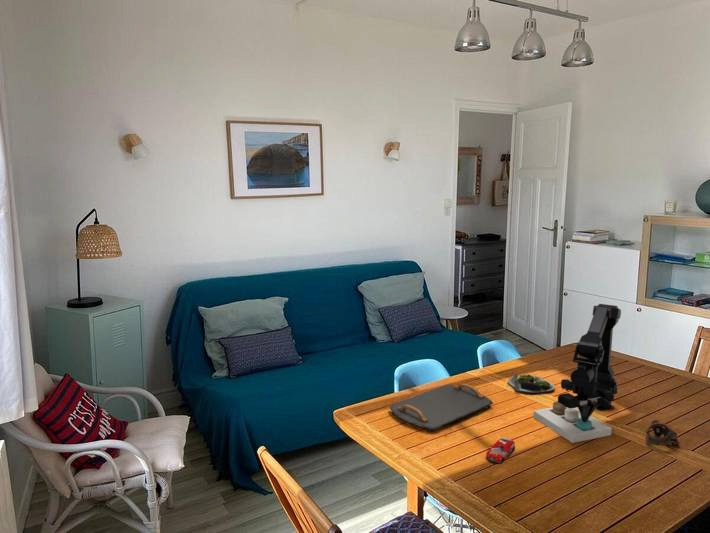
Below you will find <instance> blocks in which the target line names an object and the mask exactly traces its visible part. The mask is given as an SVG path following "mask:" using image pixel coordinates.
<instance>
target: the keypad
mask: <svg viewBox="0 0 710 533" xmlns="http://www.w3.org/2000/svg"><path fill="white" fill-rule="evenodd" d="M571 409H576V410H578V411H579V409H578V407H576V408H571ZM532 418H534V419H535V420H537V421H538V422H540V423H541V424H542V425H544V426H546V427H547V428H549V429H550V430H552V431H553V432H555V433H557V434H558V435H560V436H561V437H562V438H564V439H565V440H568V441H569V442H570V443H572V444H574V443H575V444H576V443H578V442H584V441H588V440H594V439H599V438H603V437H608V436H612V430H613V428H612V427H611V426H609V425H608V424H605V423H604V422H602V421H600V420H599V419H597V418H595V417H593V416H592V415H591V416H590V417H589V419H588V420H590V421H591V422H592V426H591V430H587V431H582V430H580V429H579V428H577V427H576V426H577V422H576V423H570V422H567V421H566V420H564V415H562V416H560V415H556V414H554V413H553V406H551V407H547V408H542V409H536V410H533V415H532ZM580 418H581V415H580V412H579V419H580Z"/></svg>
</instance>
